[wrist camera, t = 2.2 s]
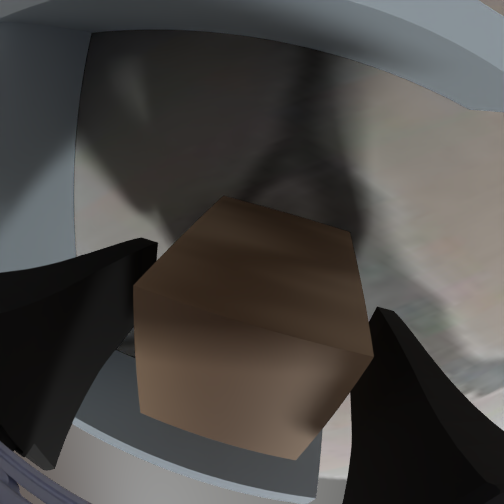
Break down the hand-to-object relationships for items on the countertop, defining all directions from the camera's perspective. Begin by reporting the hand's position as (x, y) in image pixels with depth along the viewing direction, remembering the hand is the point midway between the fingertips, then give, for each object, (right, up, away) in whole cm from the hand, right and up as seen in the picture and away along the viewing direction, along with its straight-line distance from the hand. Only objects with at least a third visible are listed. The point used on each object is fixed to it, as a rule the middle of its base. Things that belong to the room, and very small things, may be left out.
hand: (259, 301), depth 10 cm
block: (0, +1, +2) cm, 2 cm away
